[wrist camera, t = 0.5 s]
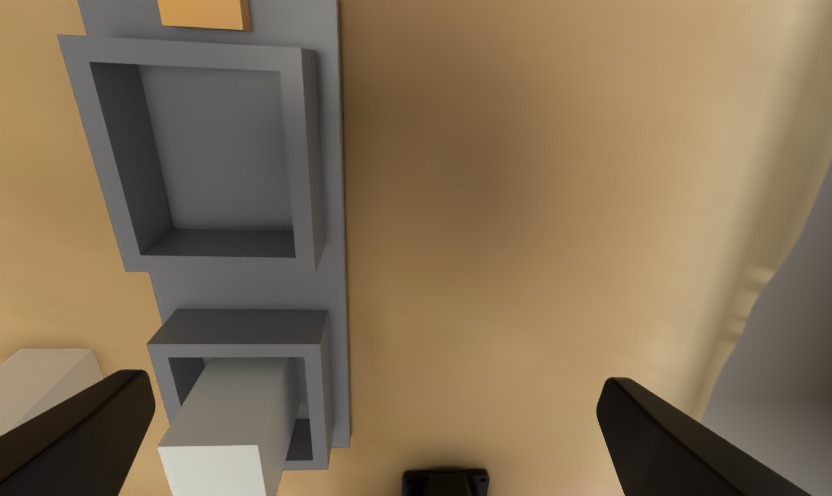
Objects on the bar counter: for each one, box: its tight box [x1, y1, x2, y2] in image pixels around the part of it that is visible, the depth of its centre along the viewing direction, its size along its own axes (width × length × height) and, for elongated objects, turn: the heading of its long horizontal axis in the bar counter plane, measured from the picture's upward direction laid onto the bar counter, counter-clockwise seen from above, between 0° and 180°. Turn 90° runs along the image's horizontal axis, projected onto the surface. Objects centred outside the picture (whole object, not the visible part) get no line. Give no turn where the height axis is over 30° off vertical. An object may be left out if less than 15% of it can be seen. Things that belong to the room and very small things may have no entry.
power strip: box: [57, 0, 351, 470], centre depth 20 cm, size 26×10×4 cm, turn 177°
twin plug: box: [157, 357, 300, 496], centre depth 21 cm, size 5×4×7 cm
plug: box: [0, 349, 103, 436], centre depth 21 cm, size 5×4×7 cm
